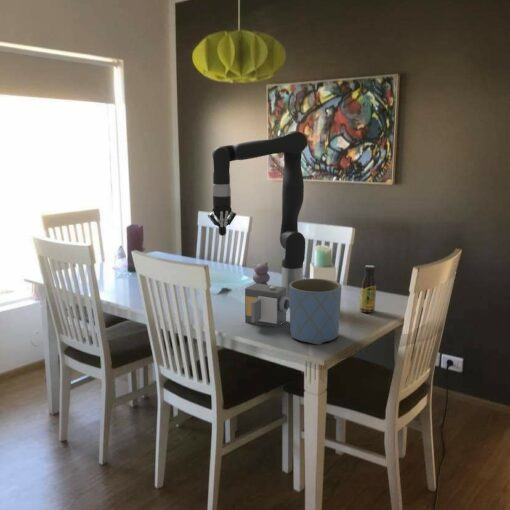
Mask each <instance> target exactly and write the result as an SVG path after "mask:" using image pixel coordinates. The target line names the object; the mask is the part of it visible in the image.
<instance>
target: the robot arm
mask: <svg viewBox="0 0 510 510" xmlns="http://www.w3.org/2000/svg"><path fill="white" fill-rule="evenodd" d="M307 146H308V138H307V136H306V135H305V134H304V133H302V132H301V131H298V130H291V131H289V132H287V133H286V134H285V135H282V136H279V137H275V138H270V139H269V138H268V139H259V140H251V141H245V142H239V143H235V144H231V145H230V144H227V145H222V146H217V147H214V149H213V151H212V162H213V163H212V165H213V172H212V182H213V183H212V207H213V208H212V212H210V213H209V214H207V217H208V218H209V220H210V221H211V222H212V224H213V225H214V226H217V228H218V234H219V235H220V236H222V237H223V236H224V237H225V236H226V234H227V226H230V225H231V224H232V223H233V220H234V219H235V218H236V216H237V213H236V212H234V211H232V210H233V209H232V207H231V206H232V205H231V204H232V201H231V200H232V197H231V196H232V194H231V193H232V192H231V190H232V189H231V179H230V178H231V175H230V165H231V164H230V163H231V162H234V161H244V160H250V159H257V158H261V157H265V156H271V155H277V154H283V165H284V166H283V175H282V189H281V190H282V192H281V203H282V204H281V225H280V233H279V242H280V246H281V247H282V248H283V249H284V258H283V260H281V287H286V297H288V298H289V308H290V297H289V284H290V283H291V282H293V281H296V280H300V279H304V277H303V275H304V274H303V273H304V272H303V271H304V267H303V266H304V262H305V258H306V257H305V256H306V239H305V236H304V234H303V233H301V232H300V231H299V230H298V223H299V222H298V220H299V215H300V212H301V209H302V207H303V203H304V198H305V197H304V195H305V190H304V189H305V184H304V177H303V169H302V156H303V155H302V154H303V151H305V149H306V148H307ZM215 217H216V218H215Z"/></svg>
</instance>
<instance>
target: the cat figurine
mask: <svg viewBox="0 0 510 510" xmlns="http://www.w3.org/2000/svg"><path fill="white" fill-rule="evenodd" d="M268 263H269V262H268V261H267V262H265V263H262V262H261V263H257V264H256V263H252V265H253V266H254V269H253V270H254V274H253V276H252V280H253V282H254V283H257V284H264V285H269V284H268V282H269V281H270V275H269V273H268V272H269V270H270V269H269V266H268Z"/></svg>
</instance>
